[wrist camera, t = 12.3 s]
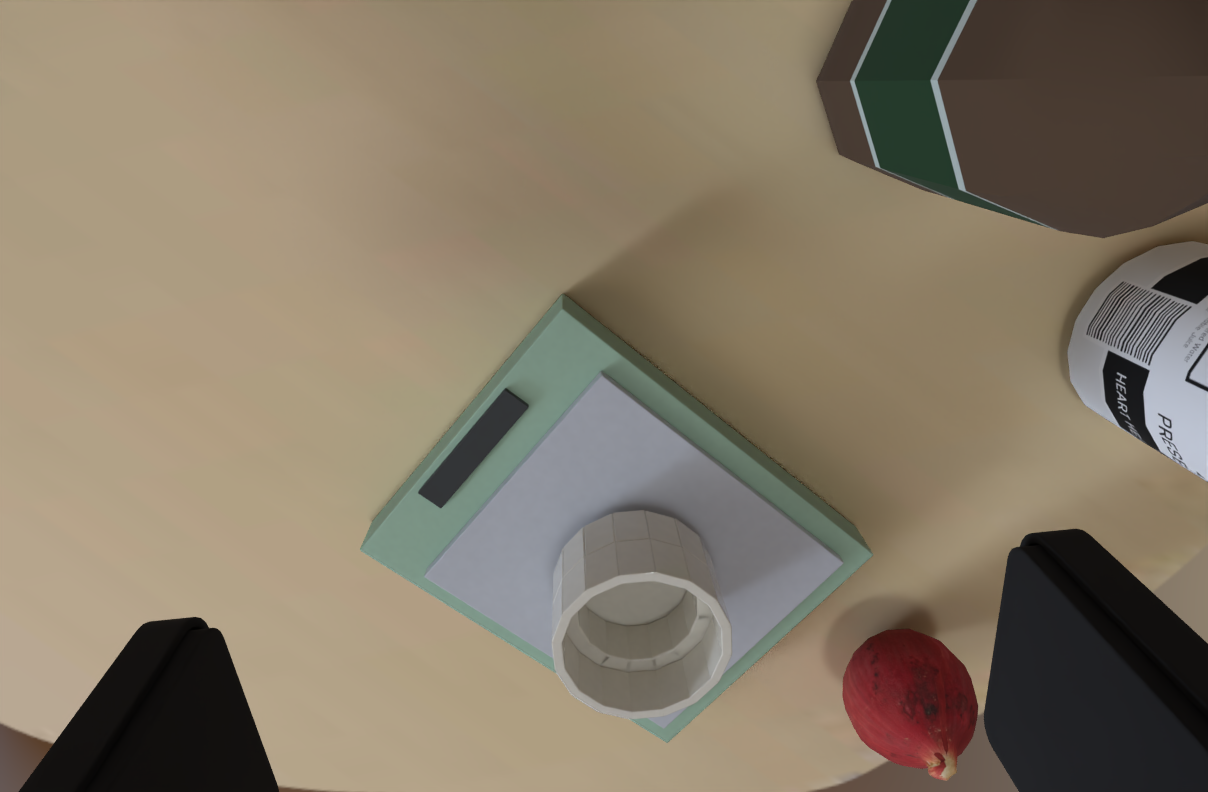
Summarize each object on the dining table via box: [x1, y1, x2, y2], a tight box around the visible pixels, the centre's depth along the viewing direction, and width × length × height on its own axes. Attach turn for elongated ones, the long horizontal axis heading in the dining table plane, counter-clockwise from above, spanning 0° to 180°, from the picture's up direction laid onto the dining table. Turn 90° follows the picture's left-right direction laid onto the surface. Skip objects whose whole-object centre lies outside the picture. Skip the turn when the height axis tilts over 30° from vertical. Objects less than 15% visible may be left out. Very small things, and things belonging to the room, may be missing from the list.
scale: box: [360, 294, 873, 743], centre depth 35 cm, size 18×14×3 cm
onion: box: [843, 629, 978, 780], centre depth 36 cm, size 6×6×8 cm
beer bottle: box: [816, 0, 1208, 238], centre depth 19 cm, size 8×8×24 cm
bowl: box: [551, 510, 732, 719], centre depth 32 cm, size 7×7×5 cm
